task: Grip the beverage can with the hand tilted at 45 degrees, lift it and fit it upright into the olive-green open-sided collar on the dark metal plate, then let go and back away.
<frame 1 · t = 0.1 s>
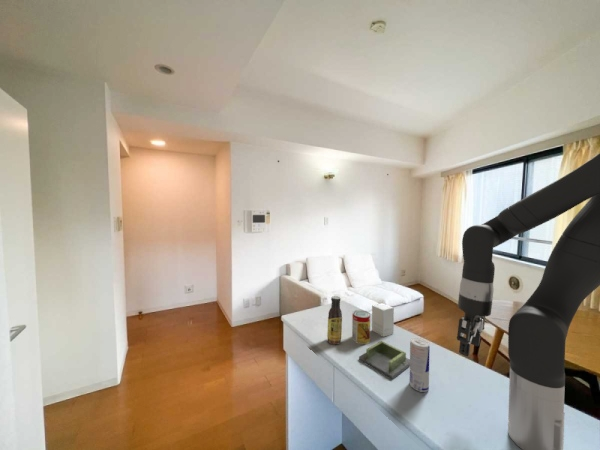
hand: (469, 349, 66), 17 cm above the kitchen counter, tool pointing down, fingers open, 8 cm apart
beverage can: (418, 387, 75), on the kitchen counter
canned food: (361, 339, 104), on the kitchen counter
sauce bottle: (334, 341, 102), on the kitchen counter
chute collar: (385, 361, 87), on the kitchen counter
supplement box: (382, 332, 111), on the kitchen counter
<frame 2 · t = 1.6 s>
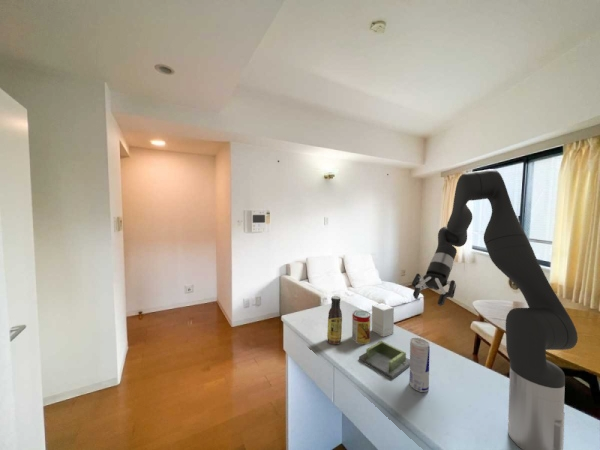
hand: (426, 301, 85), 24 cm above the kitchen counter, tool tilted 45°, fingers open, 8 cm apart
nothing on the kitchen counter moved.
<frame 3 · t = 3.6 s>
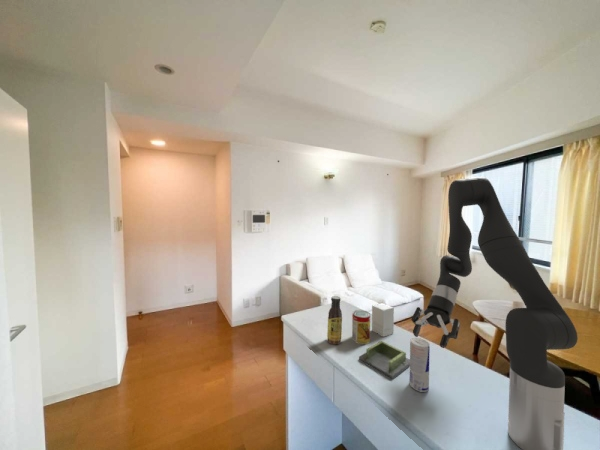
hand: (427, 341, 78), 13 cm above the kitchen counter, tool tilted 45°, fingers open, 8 cm apart
nothing on the kitchen counter moved.
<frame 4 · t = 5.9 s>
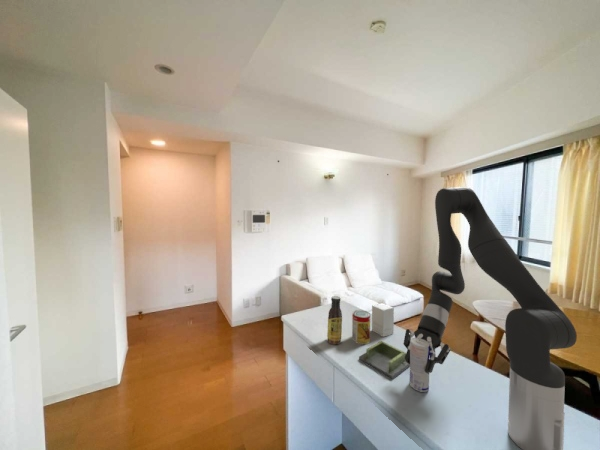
hand: (416, 367, 73), 7 cm above the kitchen counter, tool tilted 45°, fingers closed on beverage can, 5 cm apart
beverage can: (419, 387, 74), on the kitchen counter, touching gripper
everything else where it was.
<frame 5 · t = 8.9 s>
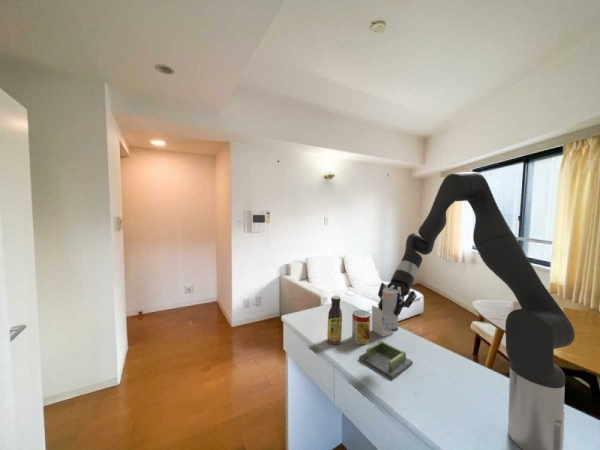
hand: (387, 311, 84), 21 cm above the kitchen counter, tool tilted 45°, fingers closed on beverage can, 5 cm apart
beverage can: (389, 329, 86), point 13 cm above the kitchen counter, touching gripper
everything else where it was.
when the fingers open (10 cm above the kitchen counter, at t = 12.2 s): beverage can drops 1 cm, resting on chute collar.
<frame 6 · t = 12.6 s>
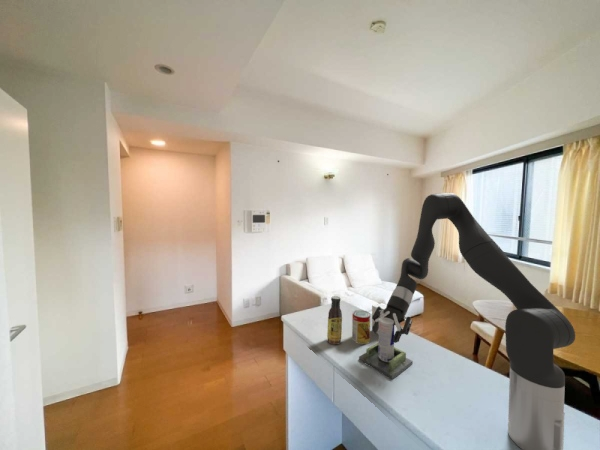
hand: (383, 336, 86), 10 cm above the kitchen counter, tool tilted 45°, fingers open, 8 cm apart
beverage can: (385, 359, 88), point 1 cm above the kitchen counter, touching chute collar
everything else where it was.
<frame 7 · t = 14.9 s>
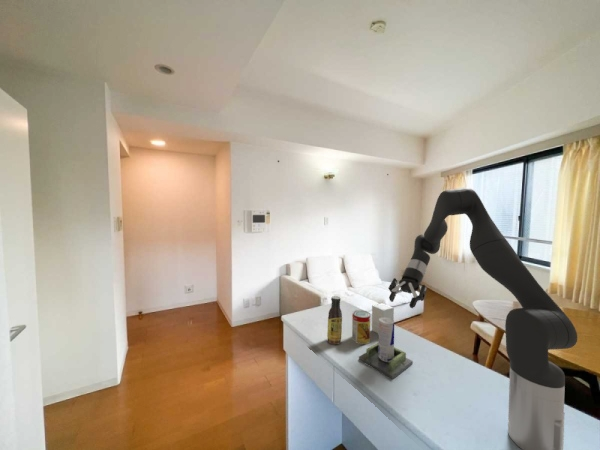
hand: (400, 303, 93), 20 cm above the kitchen counter, tool tilted 45°, fingers open, 8 cm apart
nothing on the kitchen counter moved.
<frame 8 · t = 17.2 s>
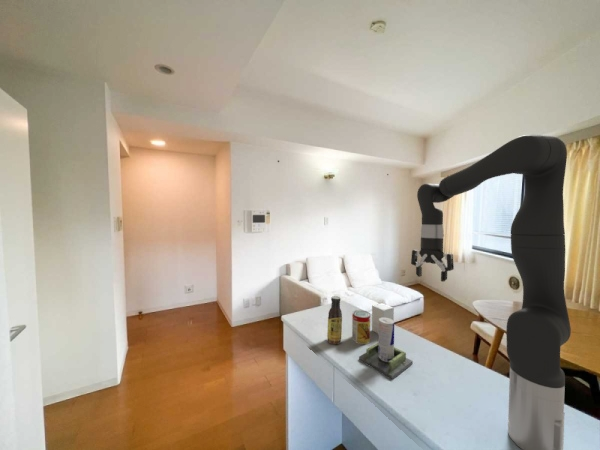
hand: (430, 278, 87), 32 cm above the kitchen counter, tool pointing down, fingers open, 8 cm apart
nothing on the kitchen counter moved.
at the end: beverage can 0.3 cm off-centre on the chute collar, point 1.0 cm above the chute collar's base; beverage can tilted 0°; the gripper is holding nothing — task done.
